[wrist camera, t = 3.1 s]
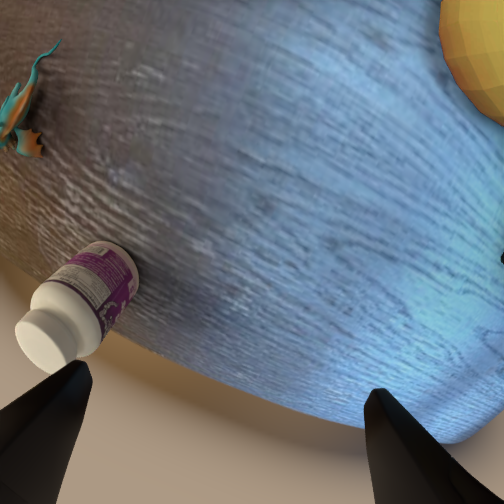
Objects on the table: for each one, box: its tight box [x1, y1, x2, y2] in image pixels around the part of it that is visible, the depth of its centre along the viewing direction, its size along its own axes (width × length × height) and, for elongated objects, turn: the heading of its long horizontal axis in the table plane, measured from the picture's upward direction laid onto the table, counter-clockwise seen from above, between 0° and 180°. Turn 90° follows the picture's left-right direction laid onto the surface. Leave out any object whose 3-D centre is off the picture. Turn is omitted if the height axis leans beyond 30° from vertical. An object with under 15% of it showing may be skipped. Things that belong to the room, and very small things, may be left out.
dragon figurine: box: [0, 39, 62, 157], centre depth 16 cm, size 7×7×8 cm
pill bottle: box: [15, 241, 139, 374], centre depth 18 cm, size 5×5×10 cm
